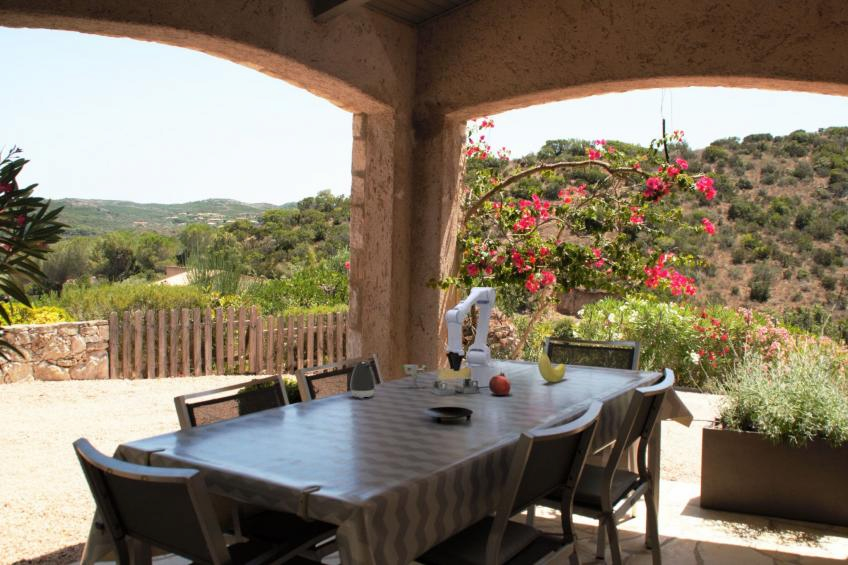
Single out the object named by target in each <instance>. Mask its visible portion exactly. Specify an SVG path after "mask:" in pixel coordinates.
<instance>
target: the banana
mask: <svg viewBox="0 0 848 565" xmlns="http://www.w3.org/2000/svg"><path fill="white" fill-rule="evenodd" d="M546 346H547V345H546V342H545V340H542V341H541V347H542V351H541V354H540V356H539V357H538V363H537V364H538V371H539V374H540V376H541V377H542V378H543V380H545V381H546V382H549V383H559V382H560V381H561V380H562V379H563V378H564V377H565V375H566V369H567V368H566V364H564V363H561V364H559V365H557V366H556V367H554V366H553V365H552V362H551V360H550V358H549V356H548V354H547V353H546Z"/></svg>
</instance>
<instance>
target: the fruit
mask: <svg viewBox="0 0 848 565" xmlns="http://www.w3.org/2000/svg"><path fill="white" fill-rule="evenodd" d="M488 388H489V390H490V392H492V393H493V396H494V395H495V396H503V395H504V396H506V395H508V394H509V393H510V391H511V381H510V379H509V378H508V377H506V374H505V372H503V371H501V372H500V374H498V375H494V376H492V378H491V380H490V382H489V386H488Z"/></svg>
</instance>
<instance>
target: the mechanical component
mask: <svg viewBox="0 0 848 565" xmlns="http://www.w3.org/2000/svg"><path fill="white" fill-rule="evenodd" d="M409 368H410V370H409ZM402 370H404V373H405V374H406V375H411V378H412V388H413V389H417V380H418V375H423V374H424V373H425V370H427V365H424V364H422V367H421V368H420V367H419V364H404V365H402ZM419 371H422V372H419Z"/></svg>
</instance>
